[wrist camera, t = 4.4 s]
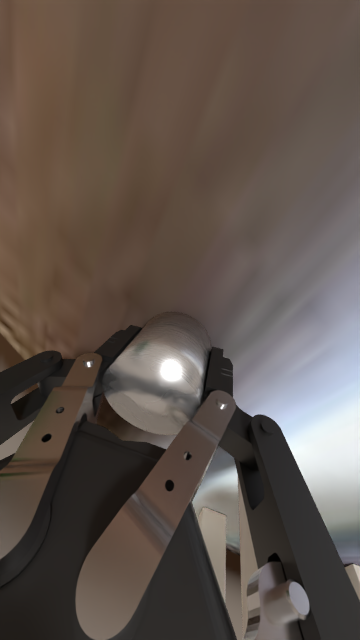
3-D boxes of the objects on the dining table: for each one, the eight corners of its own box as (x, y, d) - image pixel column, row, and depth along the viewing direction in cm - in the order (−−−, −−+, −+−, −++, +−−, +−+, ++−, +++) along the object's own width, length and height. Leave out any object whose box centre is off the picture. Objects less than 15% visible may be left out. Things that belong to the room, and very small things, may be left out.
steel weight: (219, 322, 12) (211, 378, 8) (203, 379, 14) (190, 446, 10) (145, 304, 13) (99, 345, 8) (141, 361, 15) (104, 416, 11)
